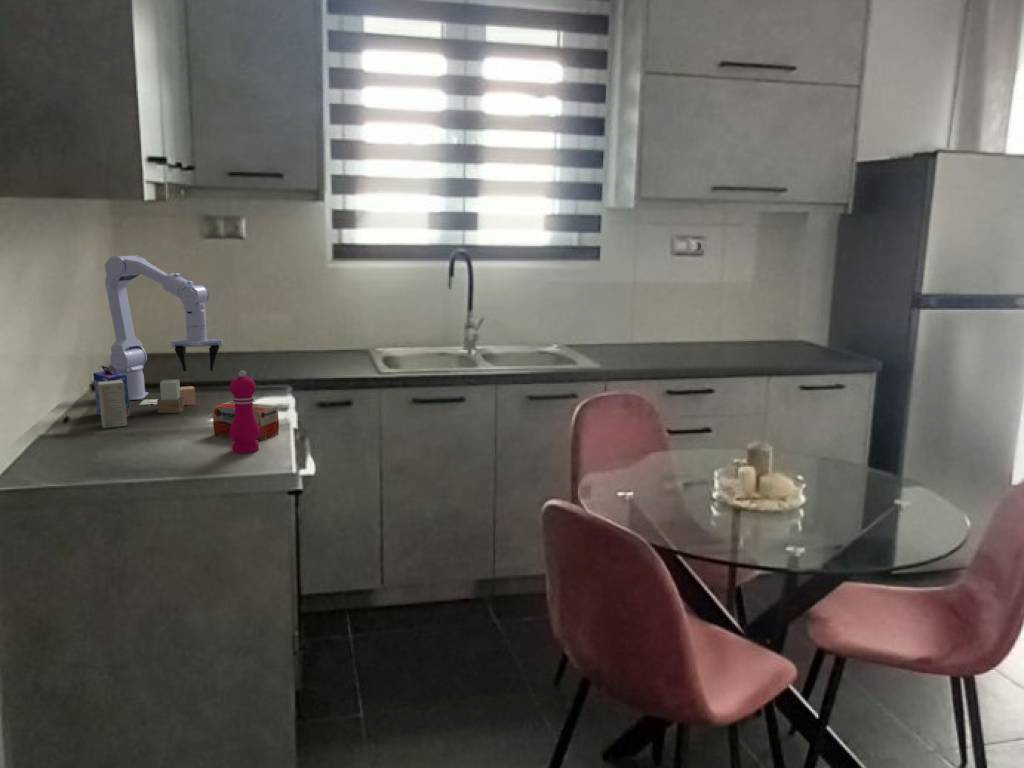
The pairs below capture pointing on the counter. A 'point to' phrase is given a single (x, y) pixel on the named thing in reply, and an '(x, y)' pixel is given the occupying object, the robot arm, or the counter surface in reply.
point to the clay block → (188, 395)
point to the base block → (170, 405)
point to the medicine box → (262, 414)
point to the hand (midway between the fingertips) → (198, 370)
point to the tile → (149, 402)
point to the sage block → (170, 389)
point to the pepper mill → (244, 415)
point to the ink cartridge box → (110, 376)
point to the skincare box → (112, 403)
